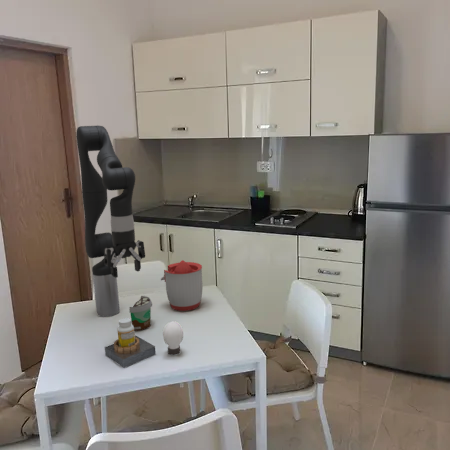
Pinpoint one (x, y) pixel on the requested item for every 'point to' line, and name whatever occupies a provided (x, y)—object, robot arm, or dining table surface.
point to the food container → (141, 314)
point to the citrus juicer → (184, 285)
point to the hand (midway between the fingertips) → (126, 273)
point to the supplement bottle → (126, 333)
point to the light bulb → (173, 337)
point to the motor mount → (130, 352)
